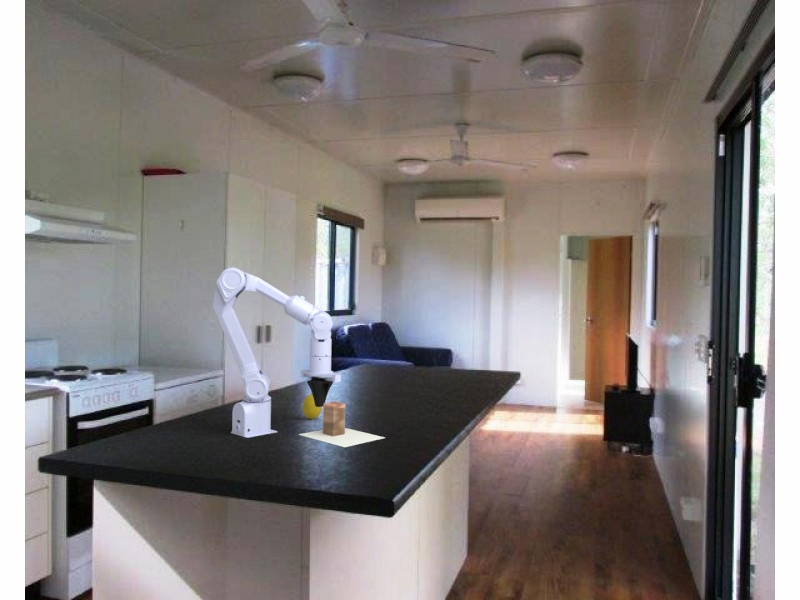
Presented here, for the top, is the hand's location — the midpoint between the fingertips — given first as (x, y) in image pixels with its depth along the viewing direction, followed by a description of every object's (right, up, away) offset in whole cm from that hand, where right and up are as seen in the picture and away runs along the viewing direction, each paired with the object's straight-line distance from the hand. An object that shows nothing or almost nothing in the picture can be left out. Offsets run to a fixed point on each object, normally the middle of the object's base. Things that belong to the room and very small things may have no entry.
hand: (319, 406), depth 155 cm
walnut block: (+4, -7, -4) cm, 9 cm away
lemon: (-4, -7, +15) cm, 17 cm away
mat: (+7, -7, -6) cm, 11 cm away
